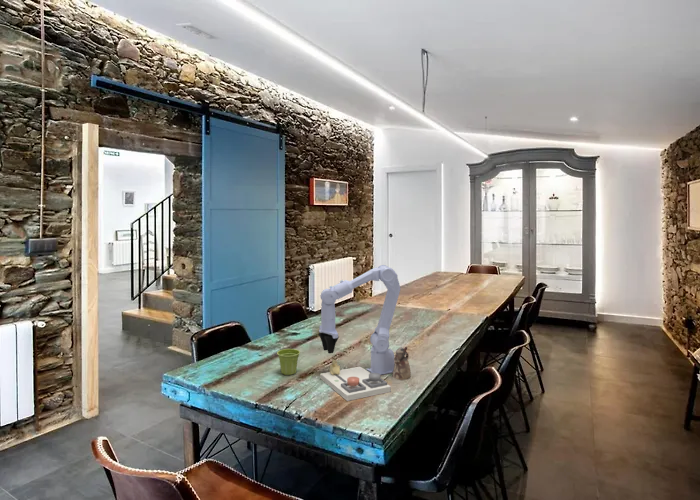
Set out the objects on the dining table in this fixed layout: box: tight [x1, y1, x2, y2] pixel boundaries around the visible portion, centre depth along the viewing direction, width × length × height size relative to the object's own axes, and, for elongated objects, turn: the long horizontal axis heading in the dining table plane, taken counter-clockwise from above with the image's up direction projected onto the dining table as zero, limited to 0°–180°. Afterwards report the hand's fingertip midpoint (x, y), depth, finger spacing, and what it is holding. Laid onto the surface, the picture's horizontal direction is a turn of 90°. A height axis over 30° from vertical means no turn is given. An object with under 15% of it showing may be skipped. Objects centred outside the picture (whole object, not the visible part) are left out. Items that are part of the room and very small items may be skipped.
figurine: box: [392, 346, 411, 381], centre depth 174 cm, size 7×7×12 cm
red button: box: [347, 377, 359, 386], centre depth 158 cm, size 4×4×2 cm
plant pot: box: [276, 348, 301, 376], centre depth 179 cm, size 9×9×9 cm
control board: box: [319, 366, 392, 402], centre depth 166 cm, size 18×24×3 cm
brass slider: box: [329, 359, 341, 375], centre depth 172 cm, size 3×3×5 cm
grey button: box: [369, 372, 382, 382], centre depth 162 cm, size 4×4×2 cm
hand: (328, 351), depth 177 cm, fingers open, 4 cm apart
